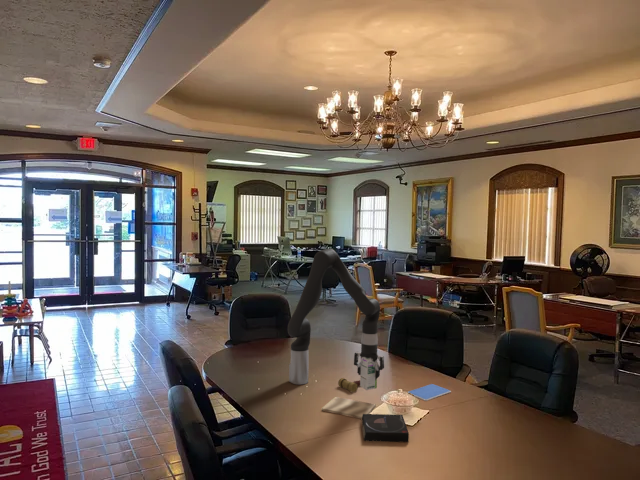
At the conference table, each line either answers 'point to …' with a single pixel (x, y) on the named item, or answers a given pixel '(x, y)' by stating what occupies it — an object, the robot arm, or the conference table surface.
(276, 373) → the conference table surface
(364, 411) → the folded beige cloth
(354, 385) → the gavel
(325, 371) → the conference table surface
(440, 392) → the tablet computer
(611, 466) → the conference table surface
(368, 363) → the syrup box
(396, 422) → the portable cd player
